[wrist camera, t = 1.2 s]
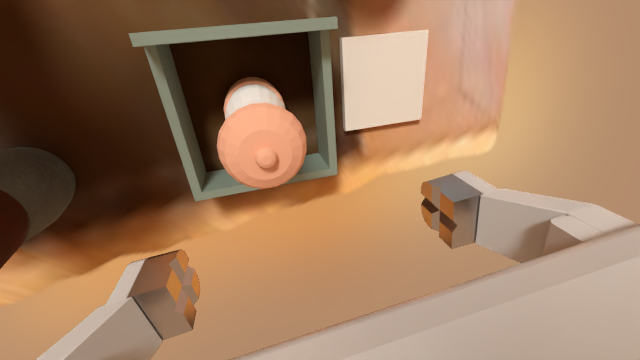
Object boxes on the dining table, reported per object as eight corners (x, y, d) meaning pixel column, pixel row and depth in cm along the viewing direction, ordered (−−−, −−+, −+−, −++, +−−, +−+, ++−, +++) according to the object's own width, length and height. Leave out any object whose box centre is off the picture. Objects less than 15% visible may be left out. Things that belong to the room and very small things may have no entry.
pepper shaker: (293, 103, 38) (335, 152, 21) (258, 143, 39) (273, 220, 23) (248, 63, 35) (257, 85, 18) (212, 109, 36) (189, 169, 19)
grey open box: (200, 180, 39) (191, 214, 32) (156, 34, 31) (128, 33, 23) (325, 158, 43) (344, 184, 35) (315, 21, 34) (337, 16, 27)
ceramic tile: (343, 129, 41) (345, 131, 41) (339, 37, 36) (341, 37, 35) (417, 117, 44) (421, 119, 43) (424, 29, 38) (428, 29, 37)
